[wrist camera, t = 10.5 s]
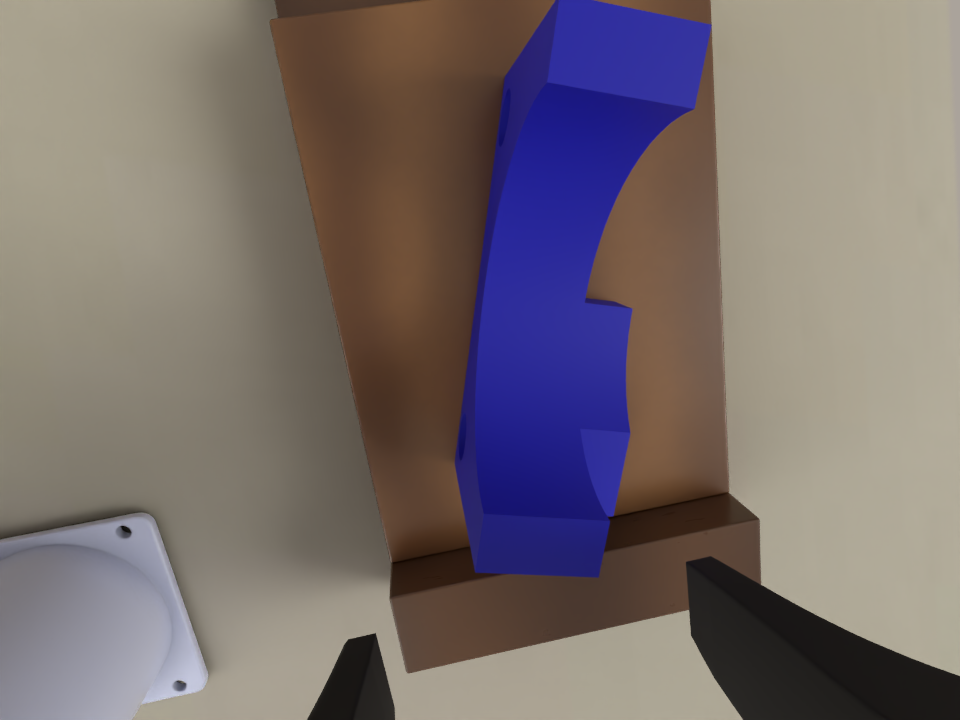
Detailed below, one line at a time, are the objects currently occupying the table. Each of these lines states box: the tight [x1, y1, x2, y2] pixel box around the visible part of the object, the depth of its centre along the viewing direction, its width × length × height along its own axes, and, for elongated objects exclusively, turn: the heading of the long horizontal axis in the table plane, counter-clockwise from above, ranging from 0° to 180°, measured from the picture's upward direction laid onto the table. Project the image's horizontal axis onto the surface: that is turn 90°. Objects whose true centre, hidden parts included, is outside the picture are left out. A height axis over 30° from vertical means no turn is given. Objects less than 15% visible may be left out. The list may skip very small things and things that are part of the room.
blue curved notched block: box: [455, 0, 712, 578], centre depth 15 cm, size 12×4×6 cm, turn 172°
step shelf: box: [270, 0, 761, 673], centre depth 18 cm, size 12×23×5 cm, turn 9°
